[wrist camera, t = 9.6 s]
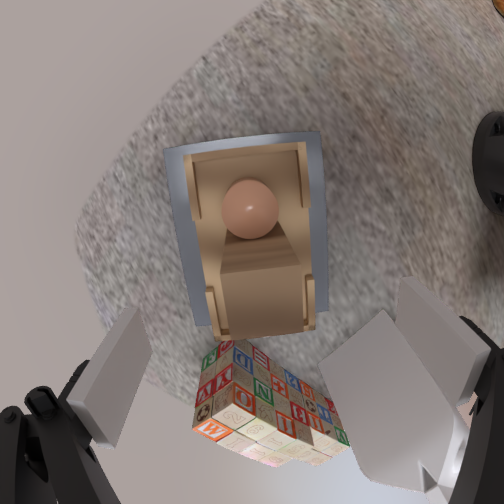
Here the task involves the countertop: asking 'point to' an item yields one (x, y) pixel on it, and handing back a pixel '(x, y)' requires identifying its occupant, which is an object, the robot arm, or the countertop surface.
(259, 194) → the brown egg
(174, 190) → the dock
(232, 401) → the stack of blocks
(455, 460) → the milk
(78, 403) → the robot arm
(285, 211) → the carrier tray
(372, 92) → the countertop surface
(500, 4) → the pastry
